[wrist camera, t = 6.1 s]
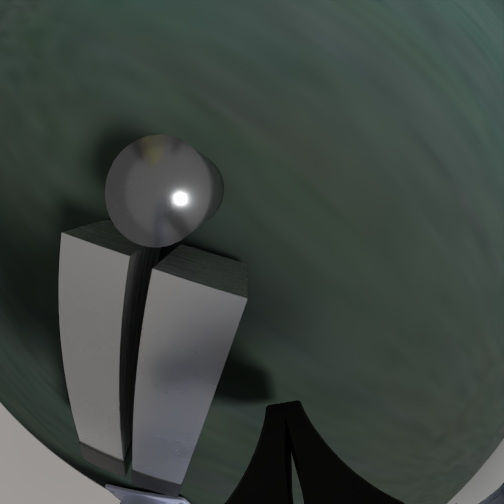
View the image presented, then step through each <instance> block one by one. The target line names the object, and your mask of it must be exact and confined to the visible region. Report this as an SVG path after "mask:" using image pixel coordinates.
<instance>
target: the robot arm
mask: <svg viewBox="0 0 504 504" xmlns="http://www.w3.org/2000/svg"><path fill="white" fill-rule="evenodd" d="M291 452H292V456H293V460H294V463H295V467H296V471H297V474H298V478H299V482H300V485H301V489H302V494H303V498H304V504H404V503H403V502H401V501H399V500H397V499H395V498H393V497H391V496H389V495H388V494H386V493H384V492H382V491H381V490H379V489H377V488H376V487H374V486H373V485H371V484H370V483H368V482H367V481H366V480H364V479H363V478H362V477H360V476H359V475H358V474H356V473H355V472H354V471H353V470H352V469H350V468H349V467H348V466H347V465H346V464H345V463H344V462H343V461H342V460H341V459H340V458H339V457H338V456H337V455H336V454H335V453H334V452H333V451H332V450H331V449H330V447H329V446H328V445H327V444H326V443H325V441H324V440H323V439H322V438H321V436H320V435H319V433H318V432H317V431H316V429H315V428H314V426H313V425H312V423H311V422H310V420H309V418H308V417H307V415H306V413H305V411H304V409H303V407H302V404H301V402H300V401H298V400H297V401H291V402H286V403H280V404H274V405H268V406H267V407H266V414H265V420H264V424H263V428H262V432H261V435H260V438H259V441H258V444H257V447H256V450H255V452H254V454H253V457H252V459H251V461H250V464H249V466H248V468H247V470H246V472H245V473H244V475H243V477H242V479H241V481H240V482H239V484H238V485H237V487H236V488H235V490H234V492H233V493H232V494H231V496H230V497H229V499H228V500H227V501H226V503H225V504H293V494H292V462H291ZM105 488H106V489H107V490H109V491H110V492H111V493H112V494H113V495H114V496H116V497H117V498H118V499H119V500H121V503H120V504H190V503H189V502H188V501H187V500H186V499H185V498H183V497H179V496H178V497H177V498H176V497H173V496H169V495H162V494H155V493H148V492H143V491H137V490H132V489H127V488H123V487H118V486H114V485H110V484H106V485H105ZM479 504H504V483H503V484H502V486H501V487H500V488H499V489H497V490H496V491H495V492H494V493H493V494H491V495H490V496H489V497H487V498H486V499H485V500H483V501H482V502H481V503H479Z"/></svg>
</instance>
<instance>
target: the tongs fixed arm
mask: <svg viewBox="0 0 504 504" xmlns="http://www.w3.org/2000/svg"><path fill="white" fill-rule="evenodd" d="M223 194H224V184H223V179H222V176H221V174H220V171H219V170H218V168H217V167H216V166H215V164H214V163H213V162H212V161H210V160H209V159H208V158H206V157H205V156H204V155H202V154H201V153H200V152H198V151H197V150H195V149H194V148H193V147H191V146H190V145H188V144H187V143H185V142H184V141H182V140H180V139H178V138H176V137H172V136H168V135H151V136H146V137H143V138H140V139H138V140H136V141H134V142H132V143H131V144H129V145H128V146H127V147H126V148H124V149H123V150H122V151H121V152H120V154H119V155H118V156H117V157H116V159H115V160H114V162H113V164H112V165H111V168H110V170H109V172H108V176H107V179H106V185H105V201H106V207H107V210H108V213H109V216H110V218H111V220H109V219H108V220H104V221H100V222H96V223H93V224H89V225H85V226H82V227H78V228H75V229H71V230H68V231H65V232H62V234H61V245H60V259H59V323H60V337H61V348H62V357H63V364H64V371H65V378H66V384H67V389H68V394H69V399H70V404H71V409H72V413H73V417H74V421H75V425H76V429H77V432H78V436H79V439H80V442H79V445H80V448H81V451H82V454H83V457H84V460H86V461H88V462H90V463H92V464H94V465H97V466H99V467H101V468H103V469H105V470H108V471H110V472H112V473H115V474H117V475H120V476H122V477H125V478H126V475H127V472H128V470H129V467H130V464H131V461H132V443H133V413H134V397H135V384H136V373H137V363H138V355H139V346H140V339H141V331H142V325H143V318H144V312H145V306H146V300H147V294H148V289H149V283H150V278H151V273H152V268H154V267H155V266H156V265H157V264H158V261H159V256H160V251H161V247H164V246H169V245H172V244H175V243H177V242H179V241H181V240H182V239H184V238H185V237H186V236H188V235H189V234H190V233H192V232H193V231H194V230H196V229H197V228H198V227H199V226H201V225H202V224H203V223H205V222H206V221H207V220H209V219H210V218H211V217H212V216H213V215H214V214H215V213H216V211H217V210H218V208H219V206H220V204H221V202H222V199H223Z"/></svg>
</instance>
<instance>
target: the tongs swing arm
mask: <svg viewBox="0 0 504 504" xmlns="http://www.w3.org/2000/svg"><path fill="white" fill-rule="evenodd" d="M247 299H248V264H245V263H242V262H239V261H236V260H232V259H229V258H226V257H223V256H219V255H216V254H213V253H210V252H206V251H203V250H200V249H197V248H194V247H191V246H187V245H184V244H181V245H179V246H178V247H177V248H176V249H175V250H173V251H172V252H171V253H170V254H169V255H168V256H166V257H165V258H164V259H163V260H162V261H160V262H159V263H158V264H157V265H156V266H155V267H154V268H152V273H151V278H150V283H149V289H148V294H147V300H146V306H145V312H144V318H143V325H142V331H141V339H140V346H139V355H138V363H137V373H136V384H135V397H134V413H133V443H132V464H133V467H132V470H131V474H132V484H134V485H137V486H140V487H143V488H146V489H149V490H152V491H155V492H158V493H162V494H165V495H169V496H173V497H176V498H177V497H178V495H179V492H180V489H181V487H182V482H183V478H184V475H185V473H186V470H187V467H188V465H189V462H190V459H191V457H192V454H193V451H194V448H195V446H196V443H197V440H198V437H199V435H200V432H201V429H202V426H203V424H204V421H205V418H206V415H207V413H208V410H209V407H210V404H211V402H212V399H213V396H214V393H215V390H216V388H217V385H218V382H219V379H220V376H221V373H222V371H223V368H224V365H225V362H226V359H227V356H228V354H229V351H230V348H231V345H232V342H233V339H234V336H235V334H236V331H237V328H238V325H239V322H240V319H241V316H242V313H243V311H244V308H245V305H246V302H247Z"/></svg>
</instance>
